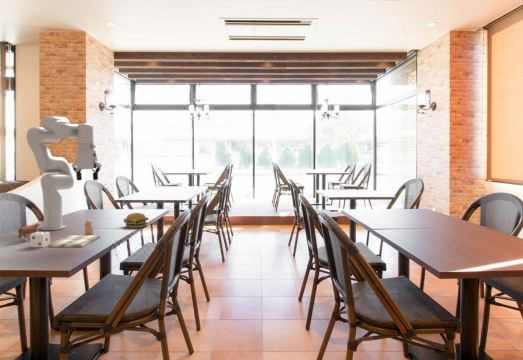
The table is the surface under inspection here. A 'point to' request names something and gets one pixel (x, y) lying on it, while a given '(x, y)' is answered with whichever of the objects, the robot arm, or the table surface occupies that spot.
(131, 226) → the food
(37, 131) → the robot arm
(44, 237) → the die
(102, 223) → the table surface
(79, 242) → the game board
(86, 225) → the peach rounded cylinder
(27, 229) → the bull figurine
